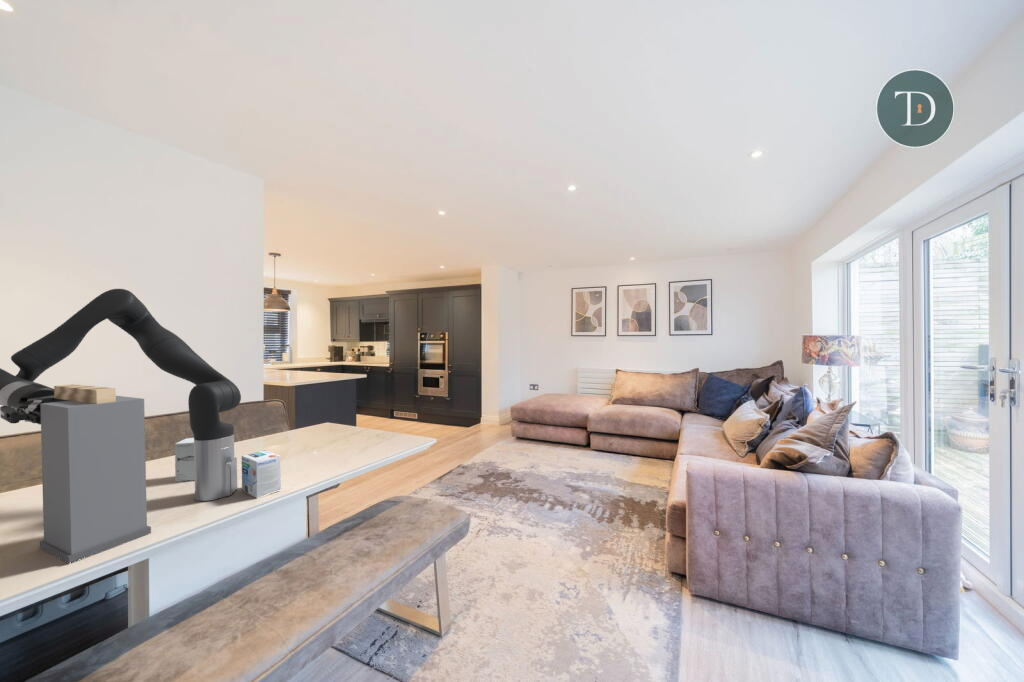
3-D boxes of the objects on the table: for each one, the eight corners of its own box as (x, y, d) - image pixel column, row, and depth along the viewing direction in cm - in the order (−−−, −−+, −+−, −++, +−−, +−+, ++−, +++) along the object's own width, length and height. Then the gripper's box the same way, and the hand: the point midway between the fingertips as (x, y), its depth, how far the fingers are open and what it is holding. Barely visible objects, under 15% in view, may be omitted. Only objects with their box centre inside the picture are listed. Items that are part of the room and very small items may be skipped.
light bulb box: (241, 491, 112) (240, 455, 112) (265, 483, 118) (265, 449, 118) (257, 499, 106) (256, 461, 106) (282, 491, 112) (281, 455, 112)
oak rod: (54, 398, 90) (54, 385, 90) (72, 396, 93) (72, 384, 93) (96, 403, 81) (96, 390, 81) (115, 401, 84) (115, 388, 84)
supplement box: (174, 482, 119) (173, 443, 119) (187, 474, 126) (186, 437, 126) (201, 480, 121) (200, 441, 121) (213, 472, 128) (212, 435, 128)
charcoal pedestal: (39, 548, 82) (35, 403, 82) (120, 521, 94) (117, 395, 94) (69, 564, 76) (65, 408, 76) (150, 533, 88) (147, 398, 88)
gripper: (-18, 390, 85) (23, 407, 80) (71, 378, 98) (110, 392, 94) (-17, 421, 86) (24, 440, 81) (71, 405, 99) (110, 420, 95)
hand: (70, 414), depth 88 cm, fingers open, 8 cm apart
